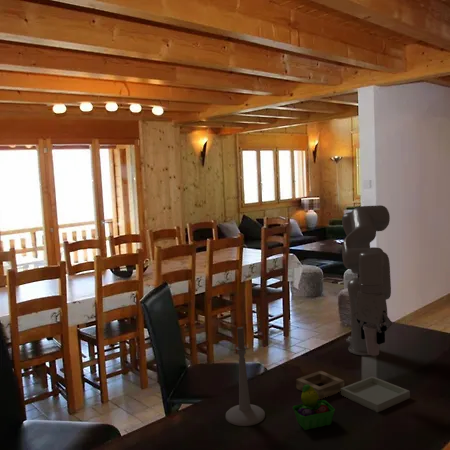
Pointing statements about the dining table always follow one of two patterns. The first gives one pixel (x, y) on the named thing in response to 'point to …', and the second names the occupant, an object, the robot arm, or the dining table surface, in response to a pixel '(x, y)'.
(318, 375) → the holder
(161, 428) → the dining table surface
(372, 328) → the smoothie
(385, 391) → the tray
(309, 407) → the fruit basket
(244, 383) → the candlestick
